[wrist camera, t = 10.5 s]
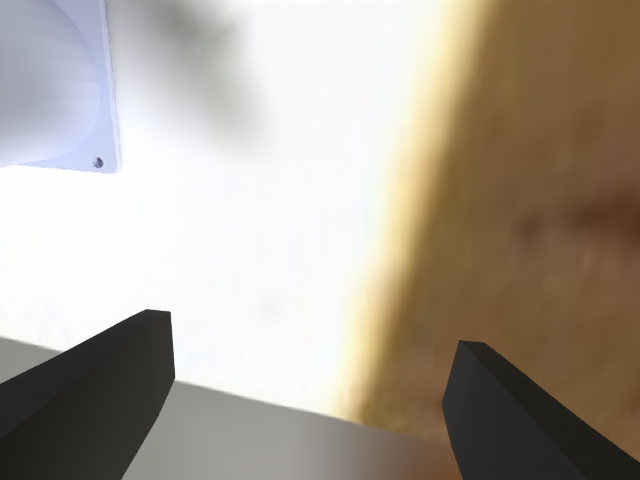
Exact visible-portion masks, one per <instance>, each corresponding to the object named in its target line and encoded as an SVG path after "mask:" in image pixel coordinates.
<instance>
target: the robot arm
mask: <svg viewBox="0 0 640 480" xmlns="http://www.w3.org/2000/svg"><path fill="white" fill-rule="evenodd" d="M98 157H99V158H100V159H101V160H102V162H103V166H100V165H99V164H98V162H97V158H98ZM12 165H23V166H33V167H43V168H54V169H64V170H75V171H85V172H95V173H106V174H114V173H117V172H119V171H120V170H121V168H122V155H121V146H120V137H119V128H118V119H117V109H116V100H115V91H114V82H113V73H112V64H111V55H110V46H109V36H108V27H107V18H106V9H105V0H0V168H1V167H7V166H12ZM174 379H175V367H174V353H173V339H172V325H171V312H169V311H159V310H149V309H146V310H144V311H141V312H139V313H137V314H135V315H133V316H131V317H129V318H127V319H125V320H123V321H121V322H120V323H118V324H116V325H114V326H112V327H110V328H108V329H106V330H105V331H103V332H101V333H99V334H97V335H95V336H93V337H92V338H90V339H88V340H86V341H84V342H82V343H80V344H78V345H77V346H75V347H73V348H71V349H69V350H67V351H65V352H63V353H62V354H60V355H58V356H56V357H54V358H52V359H50V360H48V361H46V362H44V363H42V364H40V365H38V366H35V367H33V368H32V369H29V370H27V371H25V372H23V373H21V374H19V375H17V376H16V377H13V378H11V379H9V380H7V381H5V382H3V383H1V384H0V480H121V479H122V477H123V475H124V474H125V472H126V470H127V469H128V467H129V465H130V464H131V462H132V460H133V458H134V457H135V455H136V454H137V452H138V450H139V448H140V447H141V445H142V443H143V442H144V440H145V438H146V437H147V435H148V433H149V431H150V429H151V428H152V426H153V424H154V423H155V421H156V419H157V417H158V416H159V413H160V411H161V409H162V407H163V404H164V402H165V400H166V398H167V395H168V393H169V391H170V388H171V386H172V384H173V381H174ZM442 407H443V412H444V417H445V421H446V426H447V430H448V434H449V438H450V442H451V446H452V449H453V452H454V455H455V458H456V461H457V464H458V467H459V469H460V472H461V475H462V478H463V480H640V462H638V461H637V460H635V459H634V458H633V457H631V456H630V455H628V454H627V453H626V452H624V451H623V450H622V449H620V448H619V447H617V446H616V445H615V444H613V443H612V442H611V441H609V440H608V439H607V438H605V437H604V436H603V435H601V434H600V433H599V432H597V431H596V430H594V429H593V428H592V427H590V426H589V425H588V424H587V423H585V422H584V421H583V420H581V419H580V418H579V417H577V416H576V415H575V414H574V413H572V412H571V411H570V410H568V409H567V408H566V407H565V406H563V405H562V404H561V403H560V402H558V401H557V400H556V399H555V398H553V397H552V396H551V395H550V394H548V393H547V392H546V391H545V390H543V389H542V388H541V387H540V386H538V385H537V384H536V383H535V382H534V381H532V380H531V379H530V378H529V377H527V376H526V375H525V374H524V373H522V372H521V371H520V370H519V369H518V368H516V367H515V366H514V365H513V364H511V363H510V362H509V361H508V360H506V359H505V358H504V357H503V356H501V355H500V354H499V353H498V352H496V351H495V350H494V349H492V348H491V347H490V346H488V345H487V344H485V343H483V342H473V341H462V340H459V343H458V347H457V350H456V354H455V358H454V361H453V365H452V369H451V372H450V376H449V380H448V383H447V387H446V390H445V394H444V398H443V401H442Z"/></svg>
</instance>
